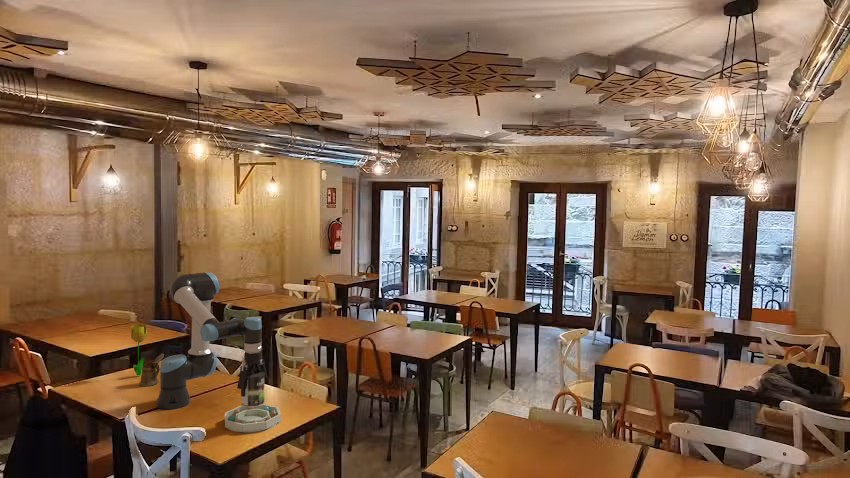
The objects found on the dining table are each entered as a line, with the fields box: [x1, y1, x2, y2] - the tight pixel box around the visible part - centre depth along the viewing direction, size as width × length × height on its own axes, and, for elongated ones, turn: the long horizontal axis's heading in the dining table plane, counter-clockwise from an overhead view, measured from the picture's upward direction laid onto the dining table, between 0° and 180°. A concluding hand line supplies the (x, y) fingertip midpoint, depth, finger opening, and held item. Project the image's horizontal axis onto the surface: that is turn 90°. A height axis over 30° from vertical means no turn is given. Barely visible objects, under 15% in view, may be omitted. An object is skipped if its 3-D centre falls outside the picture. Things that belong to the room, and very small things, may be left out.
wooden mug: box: [139, 352, 165, 387], centre depth 300 cm, size 9×14×18 cm, turn 75°
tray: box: [224, 403, 282, 433], centre depth 252 cm, size 24×24×4 cm
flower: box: [130, 323, 149, 377], centre depth 312 cm, size 9×8×30 cm
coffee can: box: [240, 371, 266, 408], centre depth 251 cm, size 10×10×14 cm
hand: (252, 399), depth 251 cm, fingers closed on coffee can, 10 cm apart
